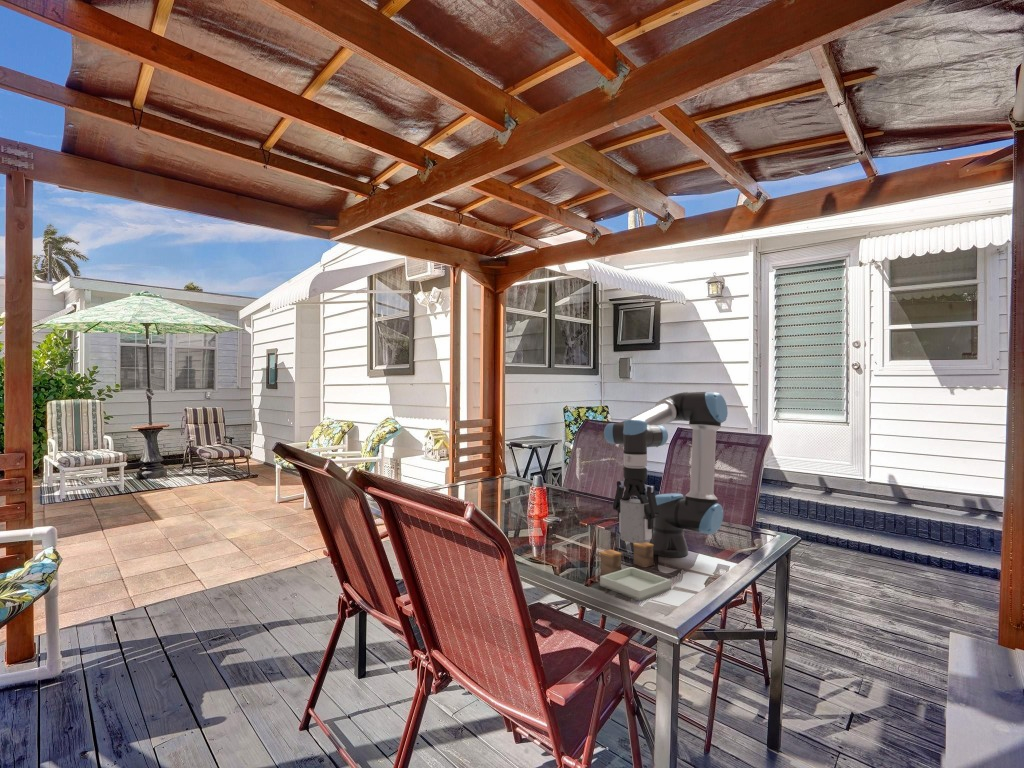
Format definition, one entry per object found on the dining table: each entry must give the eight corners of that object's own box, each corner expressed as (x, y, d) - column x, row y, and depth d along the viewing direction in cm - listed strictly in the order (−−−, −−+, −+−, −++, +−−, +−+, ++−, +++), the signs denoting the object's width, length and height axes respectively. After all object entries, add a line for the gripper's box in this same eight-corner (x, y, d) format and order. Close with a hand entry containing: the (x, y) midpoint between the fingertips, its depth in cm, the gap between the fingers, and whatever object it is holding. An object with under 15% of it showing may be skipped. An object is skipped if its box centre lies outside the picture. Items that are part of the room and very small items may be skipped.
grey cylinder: (645, 535, 168) (645, 498, 168) (654, 543, 158) (654, 504, 159) (617, 535, 167) (617, 498, 168) (624, 543, 158) (624, 504, 158)
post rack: (642, 561, 189) (642, 541, 189) (653, 565, 185) (653, 544, 185) (600, 573, 175) (600, 552, 175) (611, 578, 171) (611, 555, 171)
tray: (631, 575, 174) (631, 566, 174) (671, 589, 161) (671, 580, 161) (600, 585, 164) (600, 576, 164) (639, 601, 151) (639, 591, 151)
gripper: (601, 464, 170) (601, 530, 169) (656, 471, 153) (656, 545, 152) (616, 462, 175) (616, 526, 174) (671, 469, 157) (671, 541, 156)
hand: (635, 535), depth 163 cm, fingers closed on grey cylinder, 9 cm apart
